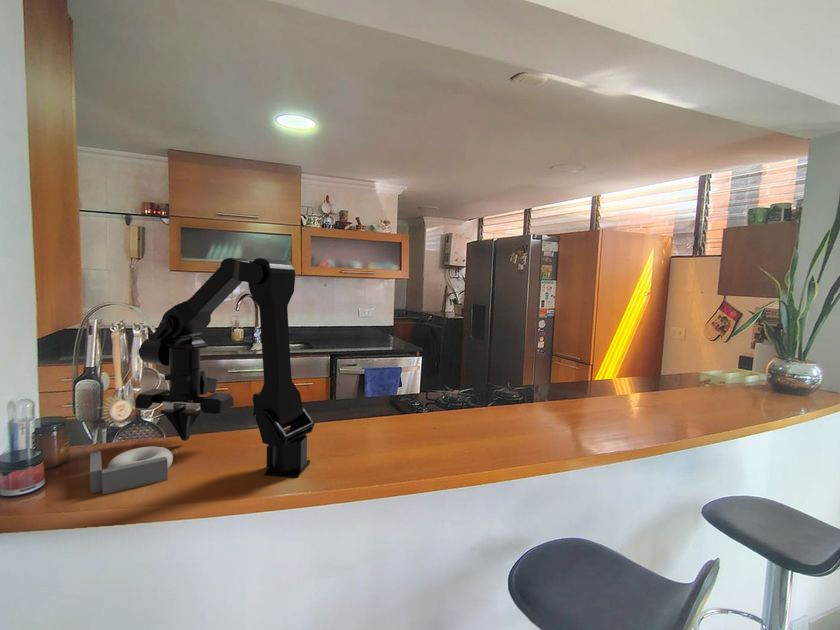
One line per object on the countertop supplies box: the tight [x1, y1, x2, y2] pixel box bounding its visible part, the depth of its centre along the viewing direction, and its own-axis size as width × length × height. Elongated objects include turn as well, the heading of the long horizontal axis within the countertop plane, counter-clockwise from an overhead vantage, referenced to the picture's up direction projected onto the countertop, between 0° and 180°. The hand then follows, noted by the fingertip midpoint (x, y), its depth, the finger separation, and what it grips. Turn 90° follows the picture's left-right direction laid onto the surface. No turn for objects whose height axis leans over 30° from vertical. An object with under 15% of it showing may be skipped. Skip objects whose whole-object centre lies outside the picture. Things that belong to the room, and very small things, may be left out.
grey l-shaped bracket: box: [89, 450, 169, 495], centre depth 69 cm, size 15×7×4 cm, turn 84°
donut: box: [106, 445, 174, 470], centre depth 74 cm, size 10×4×10 cm
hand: (185, 439), depth 86 cm, fingers closed
